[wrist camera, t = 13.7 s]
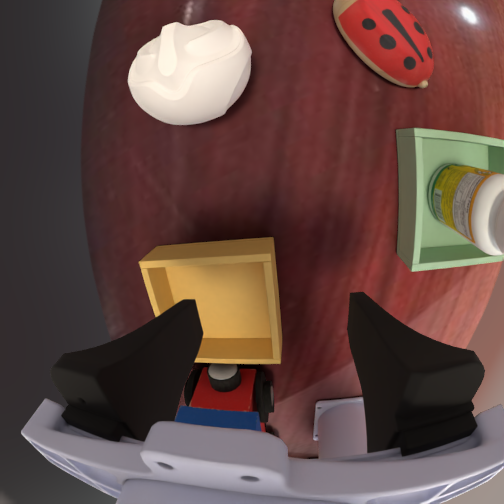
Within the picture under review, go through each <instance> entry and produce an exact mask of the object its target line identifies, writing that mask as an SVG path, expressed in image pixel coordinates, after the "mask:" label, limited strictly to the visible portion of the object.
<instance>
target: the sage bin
mask: <svg viewBox="0 0 504 504" xmlns="http://www.w3.org/2000/svg"><path fill="white" fill-rule="evenodd" d="M396 138H397V152H398V174H399V218H398V241H397V255H398V256H399V257H400V258H401V259H402V261H403V262H404V263H405V264H406V265H407V267H408V268H409V269H410V270H411V271H422V270H432V269H441V268H450V267H459V266H467V265H475V264H483V263H491V262H498V261H503V259H504V254H502V255H498V256H493V255H489V254H486V253H485V252H483V251H482V250H480V249H479V248H477V247H476V246H475V245H473V244H472V243H470V242H469V241H468V240H466V239H465V238H463V237H462V236H460V235H459V234H457V233H456V232H454V231H453V230H451V229H449V228H448V227H446V226H445V225H443V224H442V223H440V222H439V221H438V220H437V219H436V218H435V216H434V215H433V213H432V211H431V209H430V205H429V199H428V193H429V185H430V182H431V180H432V178H433V176H434V174H435V173H436V171H437V170H438V169H439V168H440V167H442V166H444V165H446V164H452V163H457V164H463V165H468V166H472V167H476V168H481V169H485V170H490V171H493V172H497V173H500V174H504V140H501V139H496V138H491V137H485V136H479V135H473V134H467V133H460V132H452V131H443V130H434V129H423V128H407V129H396Z"/></svg>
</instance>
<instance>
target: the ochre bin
mask: <svg viewBox="0 0 504 504" xmlns="http://www.w3.org/2000/svg"><path fill="white" fill-rule="evenodd" d="M139 264H140V268H141V271H142V275H143V278H144V282H145V285H146V288H147V292H148V295H149V298H150V301H151V304H152V308H153V311H154V314H155V317H157V316H159V315H160V314H162V313H163V312H165V311H166V310H168V309H169V308H170V307H172V306H173V305H175V304H176V303H178V302H180V301H181V300H183V299H195V300H196V305H197V309H198V313H199V317H200V321H201V325H202V329H203V333H204V334H203V338H202V342H201V346H200V349H199V352H198V355H197V357H196V359H195V362H201V363H224V364H280V363H281V353H282V327H281V315H280V303H279V291H278V280H277V269H276V259H275V248H274V238H273V237H265V238H252V239H238V240H225V241H212V242H200V243H187V244H175V245H163V246H157V247H155V248H154V249H153V250H152V251H151V252H150V253H148V254H147V255H146V256H145V257H144V258H143V259H142V260H140V261H139Z"/></svg>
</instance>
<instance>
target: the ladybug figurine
mask: <svg viewBox="0 0 504 504" xmlns="http://www.w3.org/2000/svg"><path fill="white" fill-rule="evenodd" d="M333 14H334V19H335V22H336V25H337V27H338V29H339V31H340V33H341V34H342V36H343V37H344V39H345V40H346V42H347V43H348V44H349V46H350V47H351V48H352V50H353V51H354V52H355V53H356V54H357V55H358V56H359V57H360V59H361V60H362V61H364V62H365V63H366V64H367V65H368V66H369V67H370V68H371V69H372V70H374V71H375V72H376V73H378V74H379V75H381V76H382V77H384V78H385V79H387V80H389V81H390V82H392V83H395V84H397V85H400V86H404V87H417V86H418V87H420V88H425V87H427V86H428V83H427V80H428V79H429V78H430V76H431V74H432V71H433V67H434V57H433V51H432V47H431V44H430V42H429V39H428V37H427V35H426V33H425V31H424V30H423V28H422V26H421V25H420V24H419V22H418V21H417V20H416V18H415V17H414V16H413V15H412V14H411V13H410V12H409V11H408V10H407V9H406V8H405V7H404V6H403V5H402V4H401V3H399V2H398V1H397V0H334V4H333Z"/></svg>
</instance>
